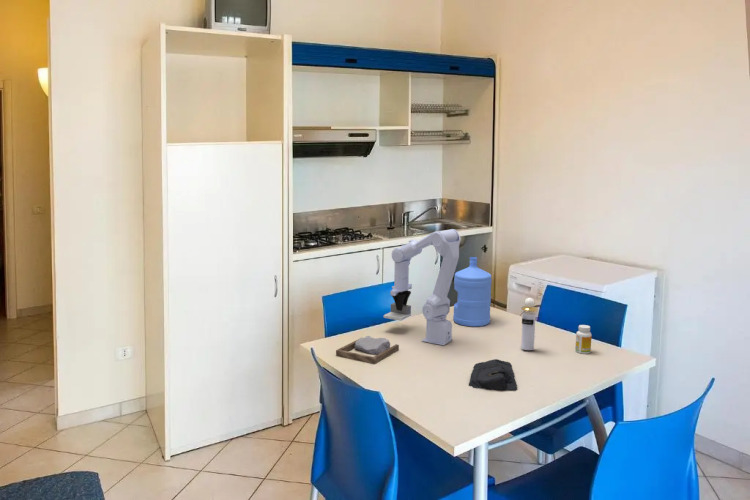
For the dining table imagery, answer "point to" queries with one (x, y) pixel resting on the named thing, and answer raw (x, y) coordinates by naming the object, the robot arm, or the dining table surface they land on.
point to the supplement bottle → (583, 339)
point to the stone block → (372, 345)
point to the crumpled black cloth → (493, 376)
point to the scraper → (398, 312)
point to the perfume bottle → (528, 324)
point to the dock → (344, 353)
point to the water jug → (472, 296)
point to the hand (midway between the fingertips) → (401, 309)
